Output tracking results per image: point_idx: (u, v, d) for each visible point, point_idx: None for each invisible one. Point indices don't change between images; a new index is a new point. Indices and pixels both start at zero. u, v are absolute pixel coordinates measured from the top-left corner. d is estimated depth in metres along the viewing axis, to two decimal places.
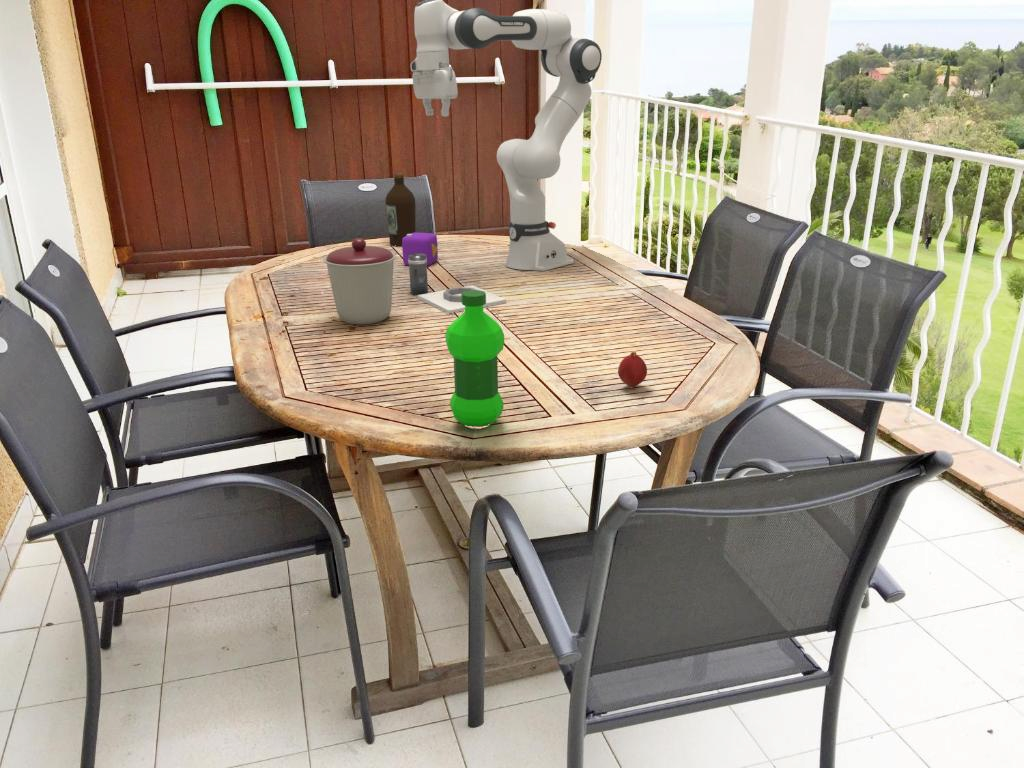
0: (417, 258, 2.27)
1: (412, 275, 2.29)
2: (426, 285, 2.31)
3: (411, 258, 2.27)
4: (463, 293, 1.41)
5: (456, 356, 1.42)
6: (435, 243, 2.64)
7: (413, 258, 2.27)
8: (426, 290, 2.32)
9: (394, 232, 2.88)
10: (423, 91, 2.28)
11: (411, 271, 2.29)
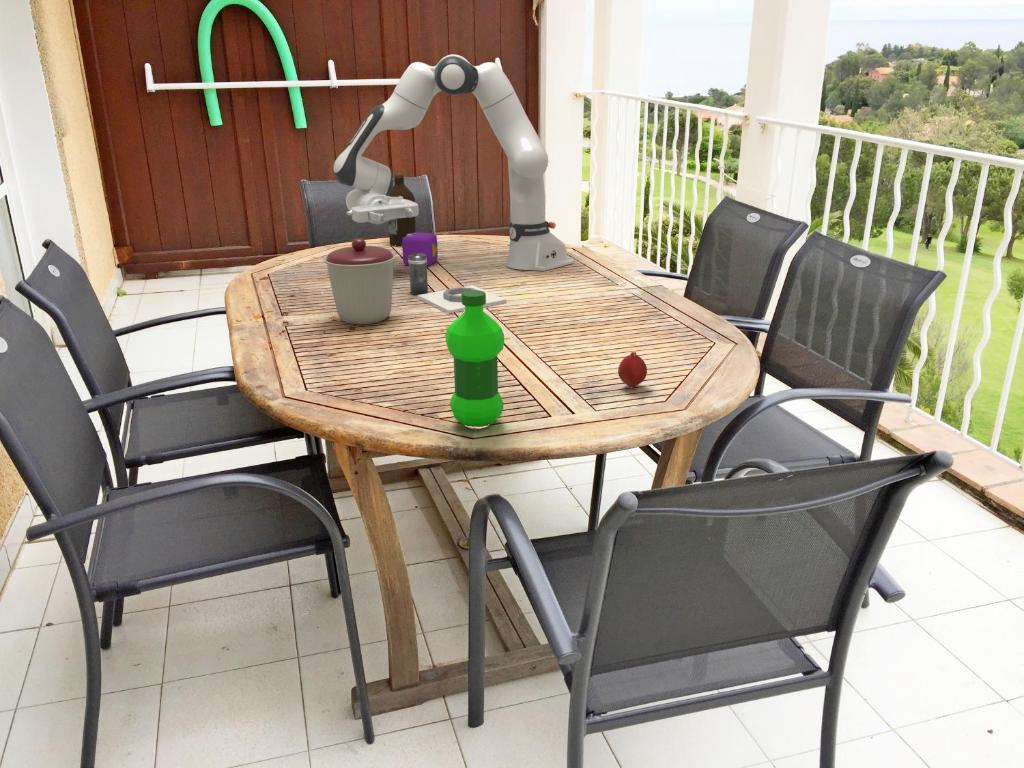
0: (417, 258, 2.27)
1: (412, 275, 2.29)
2: (426, 285, 2.31)
3: (411, 258, 2.27)
4: (463, 293, 1.41)
5: (456, 356, 1.42)
6: (435, 243, 2.64)
7: (413, 258, 2.27)
8: (426, 290, 2.32)
9: (394, 232, 2.88)
10: None
11: (411, 271, 2.29)
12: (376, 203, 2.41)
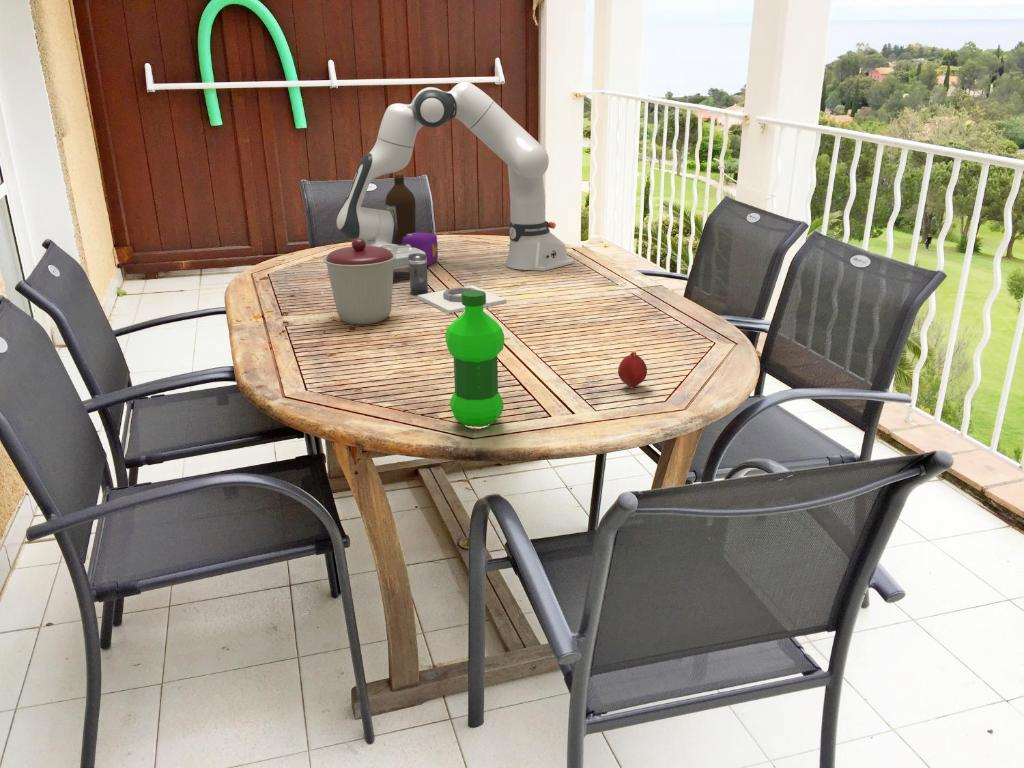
0: (417, 258, 2.27)
1: (412, 275, 2.29)
2: (426, 285, 2.31)
3: (411, 258, 2.27)
4: (463, 293, 1.41)
5: (456, 356, 1.42)
6: (435, 243, 2.64)
7: (413, 258, 2.27)
8: (426, 290, 2.32)
9: None
10: None
11: (411, 271, 2.29)
12: None
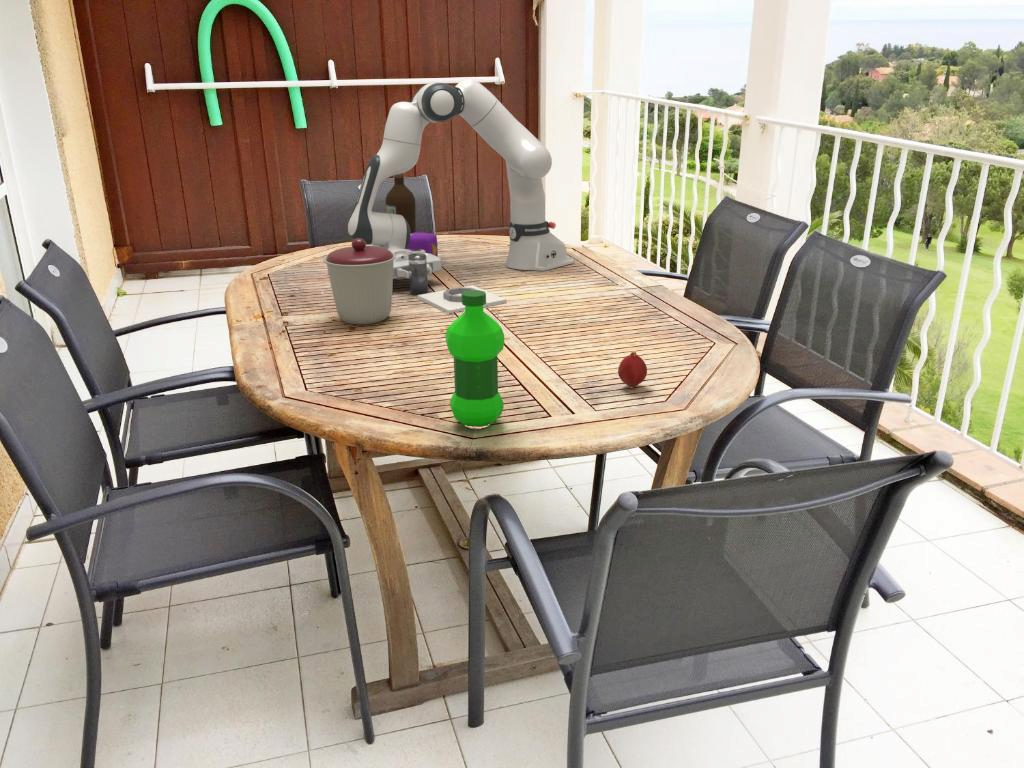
0: (417, 258, 2.27)
1: (412, 275, 2.29)
2: (426, 285, 2.31)
3: (411, 258, 2.27)
4: (463, 293, 1.41)
5: (456, 356, 1.42)
6: (435, 243, 2.64)
7: (413, 258, 2.27)
8: (426, 290, 2.32)
9: None
10: None
11: (411, 271, 2.29)
12: (398, 258, 2.37)
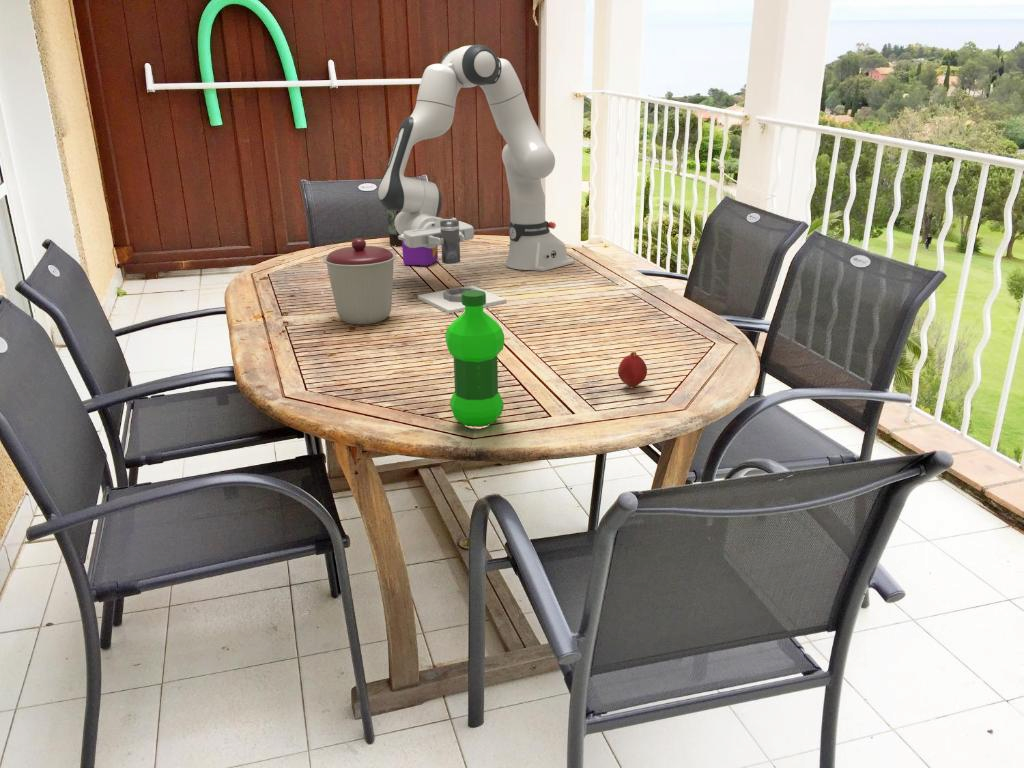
0: (449, 224, 2.17)
1: (444, 242, 2.19)
2: (458, 253, 2.21)
3: (443, 224, 2.17)
4: (463, 293, 1.41)
5: (456, 356, 1.42)
6: None
7: (445, 224, 2.17)
8: (458, 258, 2.22)
9: (394, 232, 2.88)
10: None
11: (443, 238, 2.19)
12: (429, 226, 2.27)
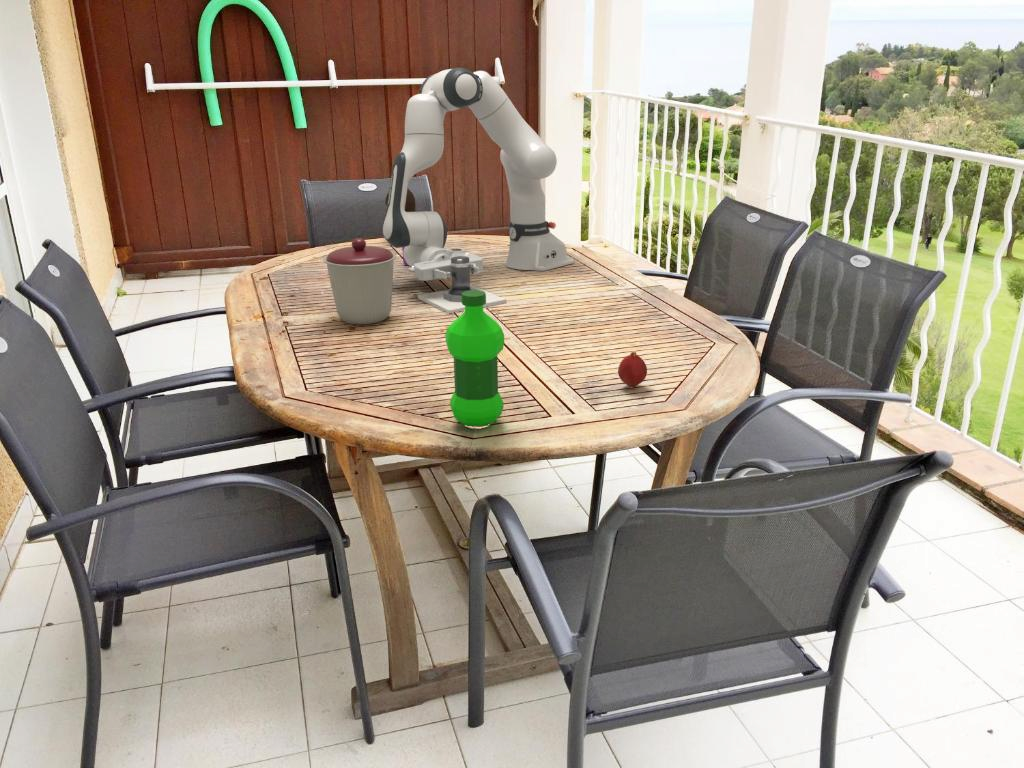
0: (460, 261, 2.19)
1: (454, 278, 2.21)
2: (469, 289, 2.23)
3: (454, 261, 2.19)
4: (463, 293, 1.41)
5: (456, 356, 1.42)
6: None
7: (456, 261, 2.19)
8: None
9: None
10: None
11: (454, 274, 2.21)
12: (439, 258, 2.28)
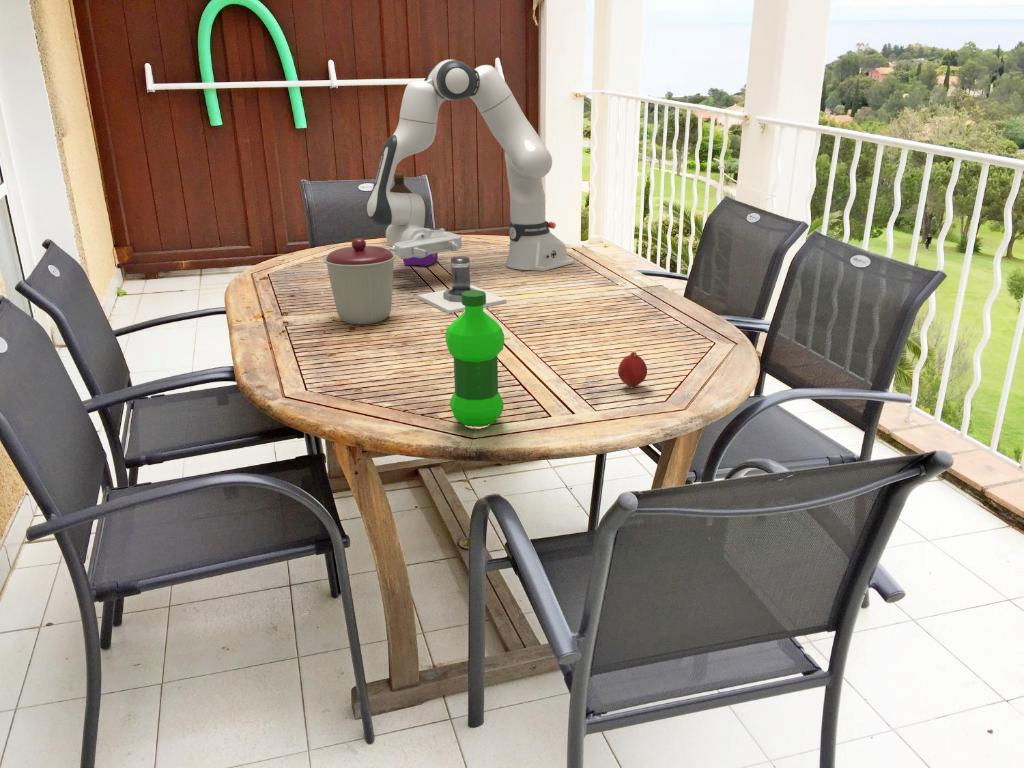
0: (460, 261, 2.19)
1: (454, 278, 2.21)
2: (469, 289, 2.23)
3: (454, 261, 2.19)
4: (463, 293, 1.41)
5: (456, 356, 1.42)
6: None
7: (456, 261, 2.19)
8: None
9: None
10: None
11: (454, 275, 2.21)
12: (419, 237, 2.38)
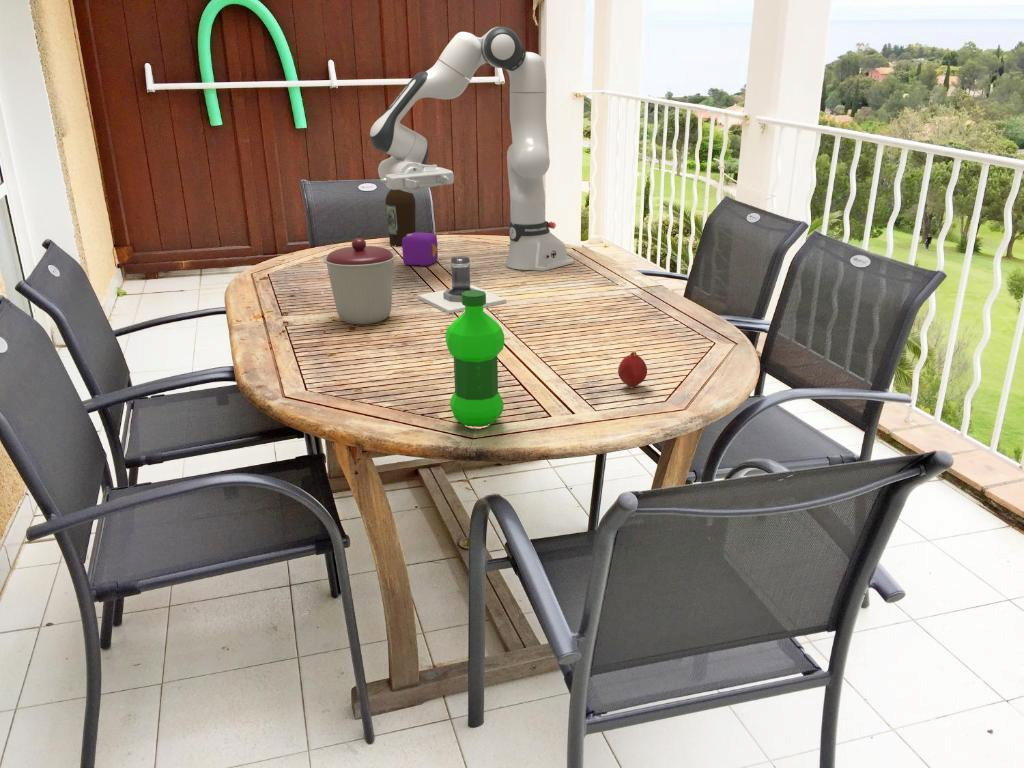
0: (460, 261, 2.19)
1: (454, 278, 2.21)
2: (469, 289, 2.23)
3: (454, 261, 2.19)
4: (463, 293, 1.41)
5: (456, 356, 1.42)
6: (435, 243, 2.64)
7: (456, 261, 2.19)
8: None
9: (394, 232, 2.88)
10: None
11: (454, 275, 2.21)
12: (410, 170, 2.36)
